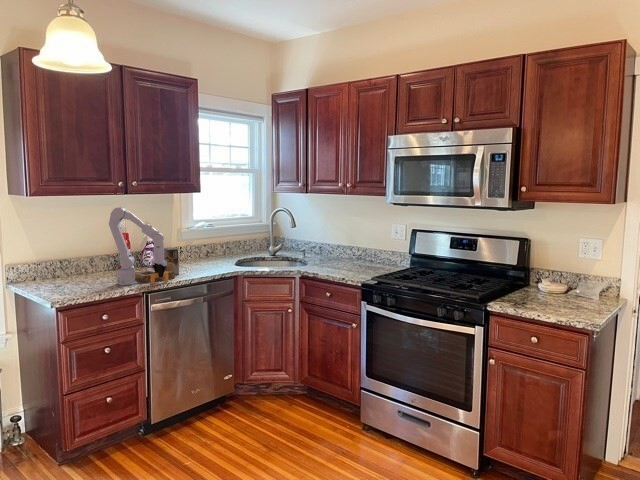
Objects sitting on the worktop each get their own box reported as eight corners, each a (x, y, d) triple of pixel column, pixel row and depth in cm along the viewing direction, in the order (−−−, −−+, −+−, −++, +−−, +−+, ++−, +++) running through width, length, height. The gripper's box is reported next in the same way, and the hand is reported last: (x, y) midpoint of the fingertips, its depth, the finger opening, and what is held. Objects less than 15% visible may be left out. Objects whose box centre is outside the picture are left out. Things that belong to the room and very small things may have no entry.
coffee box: (179, 272, 306) (178, 248, 304) (179, 274, 300) (178, 249, 298) (164, 273, 304) (163, 248, 302) (163, 275, 298) (163, 250, 296)
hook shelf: (143, 282, 274) (143, 274, 273) (132, 279, 283) (132, 271, 283) (174, 278, 288) (174, 270, 288) (163, 275, 298) (163, 267, 297)
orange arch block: (152, 284, 271) (151, 274, 270) (150, 283, 272) (150, 273, 271) (168, 281, 278) (168, 271, 277) (167, 281, 279) (166, 271, 278)
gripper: (171, 254, 271) (172, 277, 272) (159, 251, 281) (159, 274, 282) (160, 255, 266) (160, 279, 267) (147, 252, 276) (148, 275, 277)
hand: (159, 276), depth 274 cm, fingers open, 3 cm apart
